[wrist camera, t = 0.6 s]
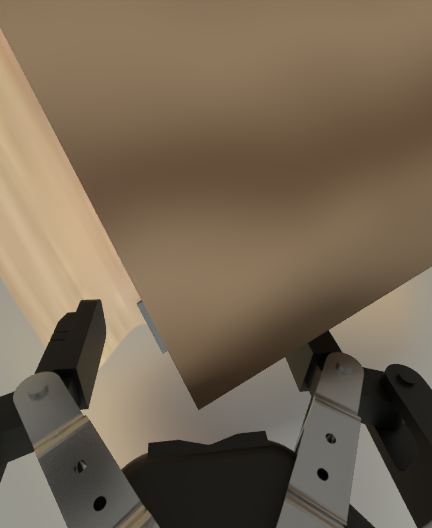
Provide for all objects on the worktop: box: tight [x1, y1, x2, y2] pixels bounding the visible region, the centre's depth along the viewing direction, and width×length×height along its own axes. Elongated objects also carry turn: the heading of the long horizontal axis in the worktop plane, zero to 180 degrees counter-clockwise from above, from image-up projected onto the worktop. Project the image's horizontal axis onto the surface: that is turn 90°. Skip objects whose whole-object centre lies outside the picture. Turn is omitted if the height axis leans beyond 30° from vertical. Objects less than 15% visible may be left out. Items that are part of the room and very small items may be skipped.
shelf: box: [0, 0, 432, 410], centre depth 22 cm, size 11×15×28 cm
